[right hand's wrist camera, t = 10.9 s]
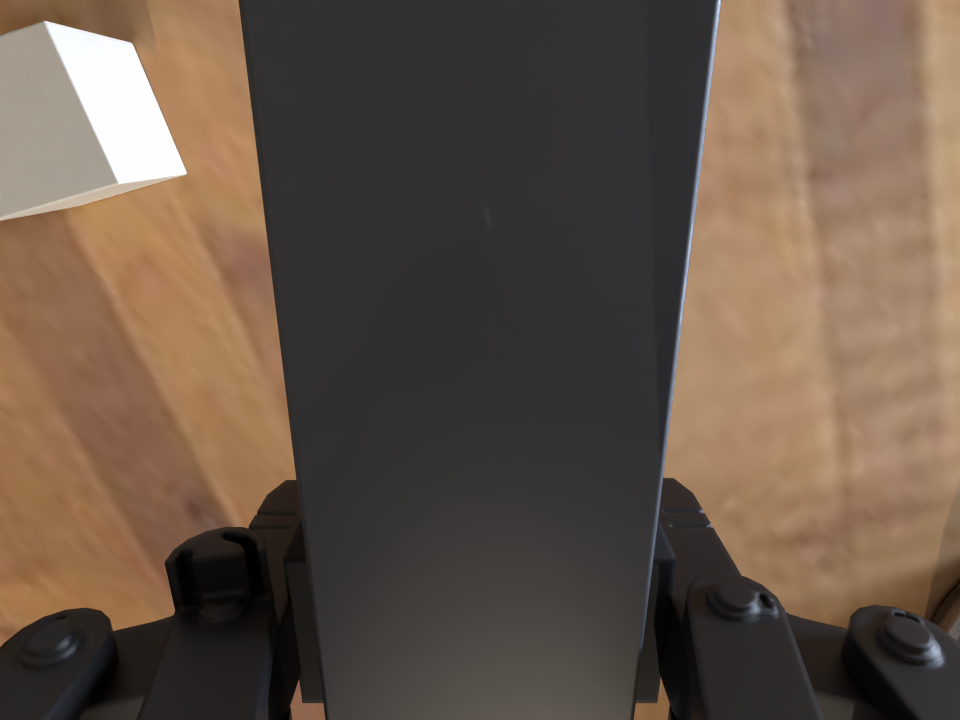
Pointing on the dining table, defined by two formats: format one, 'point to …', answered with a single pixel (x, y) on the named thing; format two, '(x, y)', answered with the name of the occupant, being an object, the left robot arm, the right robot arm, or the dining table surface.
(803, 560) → the dining table surface
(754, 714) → the right robot arm
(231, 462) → the dining table surface
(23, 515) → the dining table surface
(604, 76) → the bar
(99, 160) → the block
